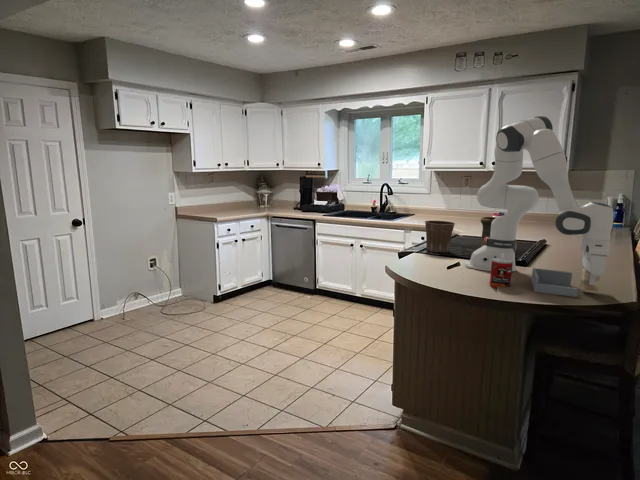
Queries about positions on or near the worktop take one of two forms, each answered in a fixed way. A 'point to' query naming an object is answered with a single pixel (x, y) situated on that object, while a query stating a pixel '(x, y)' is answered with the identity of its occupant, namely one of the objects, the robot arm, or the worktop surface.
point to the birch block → (585, 281)
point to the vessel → (486, 227)
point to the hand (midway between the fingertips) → (589, 282)
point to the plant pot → (438, 235)
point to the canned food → (501, 272)
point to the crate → (553, 282)
